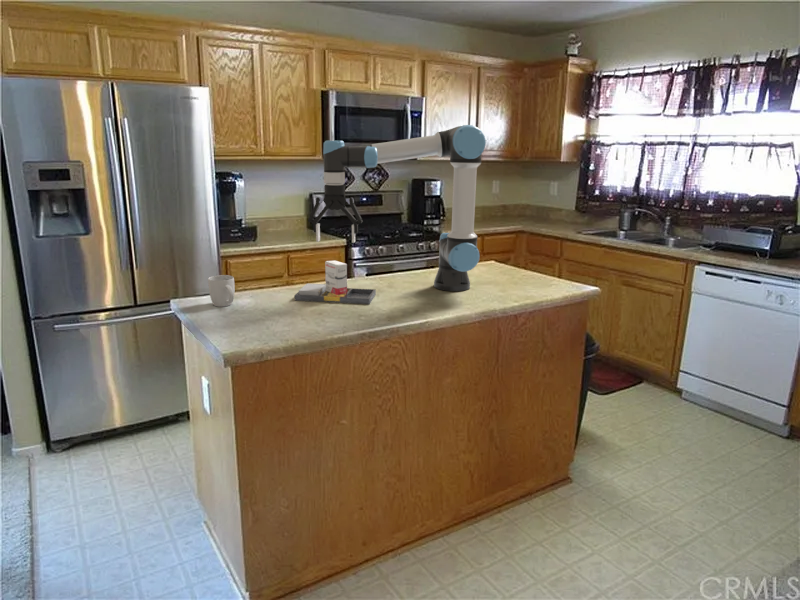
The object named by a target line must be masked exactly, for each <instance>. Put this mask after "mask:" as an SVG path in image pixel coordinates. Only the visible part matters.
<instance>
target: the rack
mask: <svg viewBox="0 0 800 600" xmlns="http://www.w3.org/2000/svg"><path fill="white" fill-rule="evenodd" d="M376 291H377V290H376V289H372V288H353V287H350V288H349V287H347V293H346V294H341V295H336V294H333V293H330V292H328V291H326V289H325V290H324V291H323V293H322V294H321V295H320V296H314V295H299V291H298V292H296V293H295V295H294V301H297V302H298V301H299V302H316V303H317V302H319V303H336V304H337V303H338V304H339V303H340V304H355V305H357V304H358V305H370V304H371V303H372V301H373V300H374V299H375V296H376Z"/></svg>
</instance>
